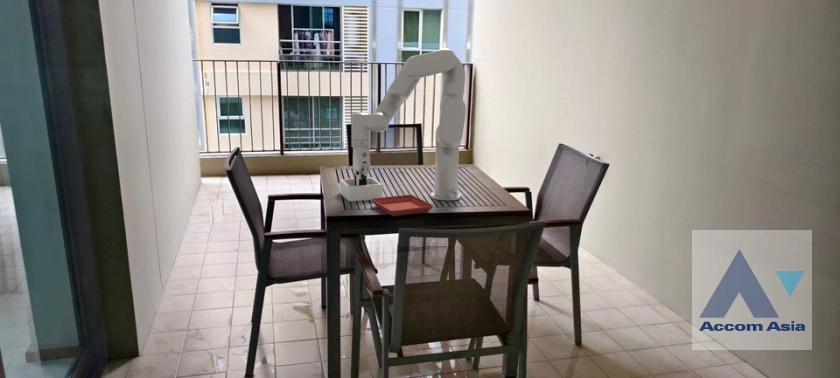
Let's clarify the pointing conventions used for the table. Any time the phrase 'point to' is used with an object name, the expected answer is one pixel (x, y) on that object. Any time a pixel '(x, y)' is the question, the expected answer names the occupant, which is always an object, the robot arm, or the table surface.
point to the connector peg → (357, 179)
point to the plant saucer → (402, 205)
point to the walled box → (360, 190)
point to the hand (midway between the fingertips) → (360, 186)
